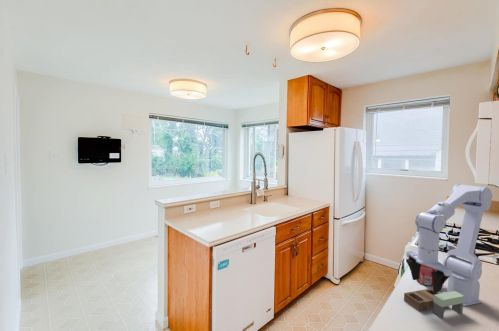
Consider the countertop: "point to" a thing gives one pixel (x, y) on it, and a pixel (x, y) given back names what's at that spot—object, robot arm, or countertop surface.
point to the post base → (420, 299)
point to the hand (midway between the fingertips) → (425, 285)
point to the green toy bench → (448, 302)
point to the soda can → (426, 275)
